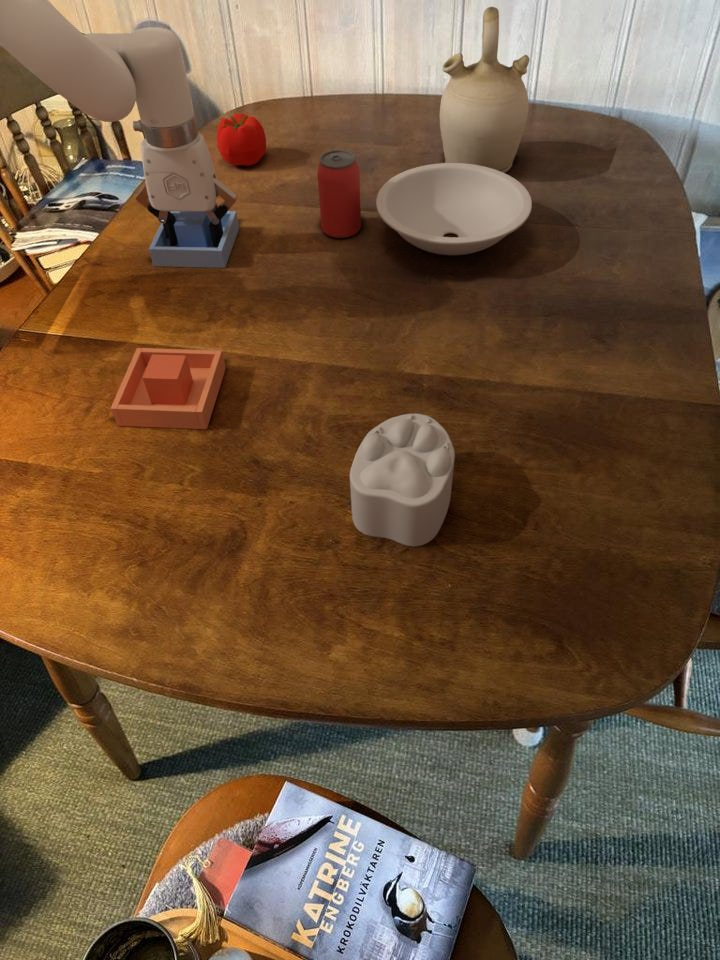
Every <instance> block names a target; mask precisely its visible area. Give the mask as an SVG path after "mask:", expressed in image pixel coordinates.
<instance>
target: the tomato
mask: <svg viewBox="0 0 720 960" xmlns="http://www.w3.org/2000/svg"><path fill="white" fill-rule="evenodd" d="M229 116H230V118H221V120H220V122H218V123H219V124H218V126H217V130H216V146H217V149H218V152H219V154H220V156H221V158H222V160H223V161H225V163H227V164H229V165H232V166H237V167H238V166H245V167H249V166H253V165H255V164H257V163H259V162H260V160H261V158H262V157H263V156H264V155H265V153H266V150H267V137H266V133H265V129H264V127H263V125H262V123H261V122H260V121H259V120H258V119H257V118H256V117H254V116H249V115H248V114H246V113H235V114H233V115H231V114H229Z"/></svg>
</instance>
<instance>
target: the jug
mask: <svg viewBox="0 0 720 960" xmlns="http://www.w3.org/2000/svg"><path fill="white" fill-rule="evenodd" d="M499 36H500V11H499V9H498V8H497V7H495V6H488V7H487V8H485V9H484V11H483V15H482V34H481V57H480V59H479V60H478V61H477V62H474V63H471V64H469V65H467V66H466V65H465V62H464V55H463V53H461V52H459V53H455V54H453V55H451V56H450V57H449V58H448V59H447V60H446V61H445V62H444V63H443V65H442V68H441V69H442V72H444V73H445V74H447V75H448V76H450V77H451V78H450V79H449V80H448V82H447V84H446V86H445V88H444V90H443V93H442V95H441V99H440V106H439V129H440V136H441V142H442V148H443V156H444V163H465V164H473V165H479V166H484V167H488V168H492V169H495V170H498V171H500V172H503V173H505V174H507V173H508V171H509V170H511V168H512V166H513V162H514V160H515V157H516V155H517V153H518V150H519V147H520V144H521V141H522V138H523V134H524V131H525V128H526V125H527V121H528V118H529V117H528V116H529V109H530V108H529V107H530V104H529V103H530V102H529V94H528V91H527V88H526V85H525V83H524V80H523V78H522V77H523V76H524V75H526V74H527V72H528V66H529V64H530V57H529V56H528V55H527V54H524V55H522V56H521V57H520V58H518V59H514V60H513V61H512V65H511V66H507V65H505V64H503V63H500V62H499V60H498V50H499V39H500V38H499Z"/></svg>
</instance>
